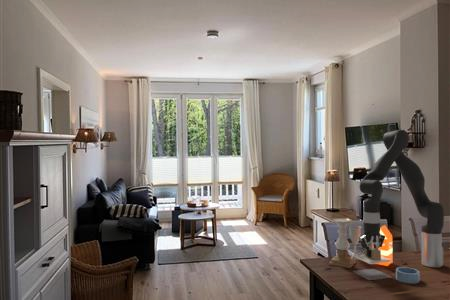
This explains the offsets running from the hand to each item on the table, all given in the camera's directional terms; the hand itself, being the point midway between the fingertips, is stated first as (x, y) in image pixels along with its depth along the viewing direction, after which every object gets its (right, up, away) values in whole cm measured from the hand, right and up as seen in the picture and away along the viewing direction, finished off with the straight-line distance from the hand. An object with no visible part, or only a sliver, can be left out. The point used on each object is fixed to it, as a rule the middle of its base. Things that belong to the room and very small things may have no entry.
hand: (372, 256), depth 176 cm
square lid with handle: (0, -1, 0) cm, 1 cm away
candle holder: (-9, -9, +16) cm, 21 cm away
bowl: (+13, -9, -7) cm, 18 cm away
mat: (0, -9, 0) cm, 9 cm away
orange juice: (+13, -9, +17) cm, 23 cm away
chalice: (+1, -9, +26) cm, 27 cm away
